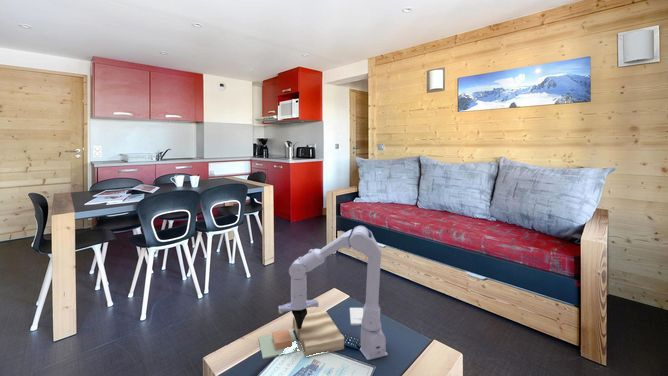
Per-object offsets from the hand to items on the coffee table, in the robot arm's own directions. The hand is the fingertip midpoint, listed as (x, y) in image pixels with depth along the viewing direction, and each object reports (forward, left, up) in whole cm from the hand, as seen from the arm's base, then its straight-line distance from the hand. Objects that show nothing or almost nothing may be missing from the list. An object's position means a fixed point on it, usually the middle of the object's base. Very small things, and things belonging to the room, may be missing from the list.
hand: (298, 327), depth 114 cm
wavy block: (0, -7, -5) cm, 9 cm away
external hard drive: (+7, -28, -6) cm, 30 cm away
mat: (0, +8, -5) cm, 9 cm away
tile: (0, +6, -3) cm, 7 cm away
